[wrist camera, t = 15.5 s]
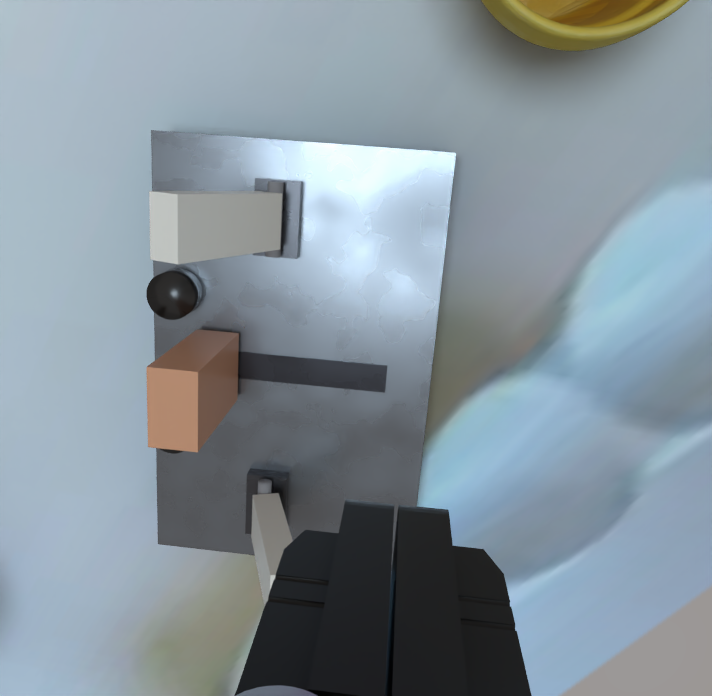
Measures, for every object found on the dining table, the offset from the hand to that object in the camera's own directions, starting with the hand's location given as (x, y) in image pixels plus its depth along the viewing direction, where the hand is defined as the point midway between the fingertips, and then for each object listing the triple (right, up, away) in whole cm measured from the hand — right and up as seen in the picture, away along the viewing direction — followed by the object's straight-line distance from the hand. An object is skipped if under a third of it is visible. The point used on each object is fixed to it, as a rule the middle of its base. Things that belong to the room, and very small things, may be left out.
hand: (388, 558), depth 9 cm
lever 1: (-5, +10, +23) cm, 26 cm away
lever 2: (-6, -7, +28) cm, 29 cm away
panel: (-4, +3, +30) cm, 30 cm away
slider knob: (-8, +2, +27) cm, 28 cm away
